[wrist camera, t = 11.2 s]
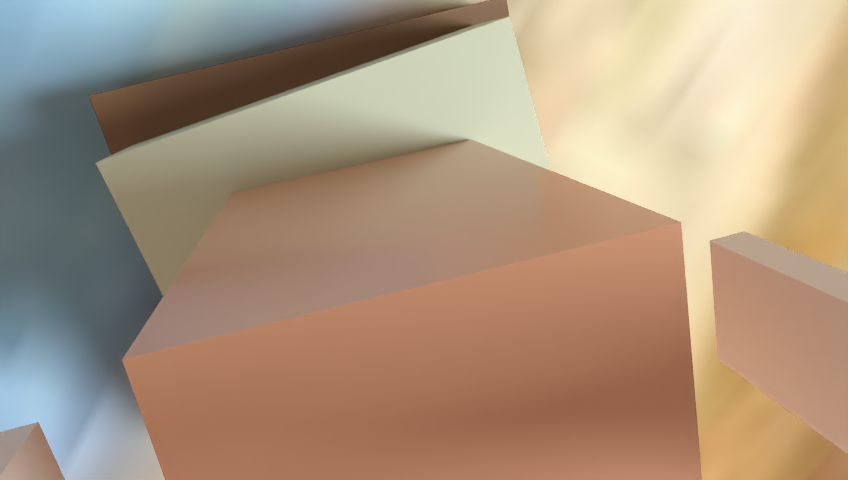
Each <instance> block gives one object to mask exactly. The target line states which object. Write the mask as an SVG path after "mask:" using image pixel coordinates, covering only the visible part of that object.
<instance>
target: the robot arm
mask: <svg viewBox="0 0 848 480" xmlns="http://www.w3.org/2000/svg"><path fill="white" fill-rule="evenodd" d="M710 250H711V265H712V280H713V295H714V310H715V325H716V340H717V355H718V360H719V361H720V362H721V363H723V364H724V365H726V366H727V367H728V368H730V369H731V370H732V371H734V372H735V373H737V374H738V375H739V376H741V377H742V378H743V379H745V380H746V381H748V382H749V383H750V384H752V385H753V386H754V387H756V388H757V389H759V390H760V391H761V392H763V393H764V394H766V395H767V396H768V397H770V398H771V399H772V400H774V401H775V402H777V403H778V404H779V405H781V406H782V407H783V408H785V409H786V410H788V411H789V412H790V413H792V414H793V415H794V416H796V417H797V418H799V419H800V420H801V421H803V422H804V423H806V424H807V425H808V426H810V427H811V428H812V429H814V430H815V431H817V432H818V433H819V434H821V435H822V436H823V437H825V438H826V439H828V440H829V441H830V442H832V443H833V444H834V445H836V446H837V447H839V448H840V449H841V450H843V451H844V452H846V453H847V454H848V272H846V271H843V270H841V269H838V268H836V267H833V266H831V265H828V264H826V263H823V262H820V261H818V260H815V259H813V258H810V257H808V256H805V255H803V254H800V253H798V252H795V251H792V250H790V249H787V248H785V247H782V246H780V245H777V244H775V243H772V242H770V241H767V240H764V239H762V238H759V237H757V236H754V235H752V234H749V233H747V232H741V233H737V234H733V235H729V236H726V237H722V238H718V239H715V240H711V241H710ZM0 480H65V479H64V477H63V475H62V473H61V470H60V468H59V466H58V464H57V462H56V460H55V457H54V455H53V453H52V451H51V449H50V446H49V444H48V442H47V440H46V438H45V436H44V433H43V431H42V429H41V427H40V425H39V422H37V423H33V424H29V425H26V426H22V427H18V428H15V429H11V430H7V431H3V432H0Z"/></svg>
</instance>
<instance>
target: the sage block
mask: <svg viewBox="0 0 848 480" xmlns="http://www.w3.org/2000/svg"><path fill="white" fill-rule="evenodd" d="M471 139H472V140H474V141H477V142H479V143H482V144H484V145H487V146H489V147H492V148H495V149H497V150H500V151H502V152H505V153H507V154H510V155H512V156H515V157H517V158H520V159H522V160H525V161H527V162H530V163H532V164H535V165H537V166H540V167H542V168H545V169H548V170H550V171H551V168H550V164H549V160H548V157H547V153H546V149H545V146H544V142H543V138H542V135H541V131H540V127H539V123H538V120H537V116H536V112H535V109H534V105H533V101H532V98H531V94H530V90H529V87H528V83H527V79H526V76H525V72H524V68H523V64H522V61H521V57H520V53H519V50H518V46H517V42H516V39H515V35H514V31H513V28H512V24H511V20H510V17H505V18H501V19H497V20H492V21H488V22H484V23H479V24H475V25H472V26H469V27H466V28H463V29H460V30H457V31H455V32H452V33H449V34H446V35H443V36H440V37H438V38H435V39H432V40H429V41H426V42H423V43H421V44H418V45H415V46H412V47H409V48H406V49H404V50H401V51H398V52H395V53H392V54H389V55H387V56H384V57H381V58H378V59H375V60H372V61H370V62H367V63H364V64H361V65H358V66H355V67H353V68H350V69H347V70H344V71H341V72H338V73H336V74H333V75H330V76H327V77H324V78H321V79H319V80H316V81H313V82H310V83H307V84H304V85H302V86H299V87H296V88H293V89H290V90H287V91H285V92H282V93H279V94H276V95H273V96H270V97H268V98H265V99H262V100H259V101H256V102H253V103H251V104H248V105H245V106H242V107H239V108H236V109H234V110H231V111H228V112H225V113H222V114H219V115H217V116H214V117H211V118H208V119H205V120H202V121H200V122H197V123H194V124H191V125H188V126H185V127H183V128H180V129H177V130H174V131H171V132H168V133H166V134H163V135H160V136H157V137H154V138H151V139H149V140H146V141H143V142H140V143H137V144H134V145H132V146H130V147H128V148H126V149H124V150H121V151H119V152H117V153H115V154H113V155H111V156H109V157H107V158H105V159H103V160H100V161H98V162H96V165H97V167H98V169H99V171H100V173H101V175H102V177H103V179H104V181H105V183H106V185H107V187H108V189H109V191H110V193H111V195H112V197H113V199H114V200H115V202H116V204H117V206H118V208H119V210H120V212H121V214H122V216H123V218H124V220H125V222H126V224H127V226H128V228H129V230H130V232H131V234H132V236H133V238H134V240H135V242H136V244H137V246H138V248H139V250H140V252H141V254H142V256H143V258H144V260H145V262H146V264H147V266H148V268H149V270H150V272H151V274H152V275H153V277H154V279H155V281H156V283H157V285H158V287H159V289H160V291H161V293H162V295H163V296H164V295H165V293H166V292H167V290H168V289H169V287H170V286H171V284H172V283H173V281H174V280H175V278H176V277H177V275H178V274H179V272H180V271H181V269H182V267H183V266H184V264H185V263H186V261H187V260H188V258H189V257H190V255H191V254H192V252H193V251H194V249H195V248H196V246H197V245H198V243H199V242H200V240H201V239H202V237H203V236H204V234H205V233H206V231H207V230H208V228H209V227H210V225H211V223H212V222H213V220H214V219H215V217H216V216H217V214H218V213H219V211H220V210H221V208H222V207H223V205H224V204H225V202H226V201H227V199H228V198H229V196H230V195H231V193H232V192H235V191H239V190H244V189H248V188H253V187H257V186H262V185H266V184H271V183H275V182H280V181H285V180H289V179H294V178H298V177H303V176H307V175H312V174H316V173H321V172H325V171H330V170H334V169H339V168H344V167H348V166H353V165H357V164H362V163H366V162H371V161H375V160H380V159H384V158H389V157H394V156H398V155H403V154H407V153H412V152H416V151H421V150H425V149H430V148H434V147H439V146H444V145H448V144H453V143H457V142H462V141H466V140H471Z"/></svg>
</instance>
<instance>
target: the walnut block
mask: <svg viewBox="0 0 848 480" xmlns="http://www.w3.org/2000/svg"><path fill="white" fill-rule="evenodd" d="M505 17H509V12H508V6H507V1H506V0H489V1H484V2H480V3H476V4H472V5H468V6H463V7H459V8H455V9H451V10H447V11H442V12H438V13H434V14H430V15H426V16H421V17H417V18H413V19H409V20H404V21H400V22H396V23H392V24H388V25H383V26H379V27H375V28H371V29H367V30H362V31H358V32H354V33H350V34H346V35H341V36H337V37H333V38H329V39H324V40H320V41H316V42H312V43H308V44H303V45H299V46H295V47H291V48H287V49H282V50H278V51H274V52H270V53H266V54H261V55H257V56H253V57H249V58H244V59H240V60H236V61H232V62H228V63H223V64H219V65H215V66H211V67H207V68H202V69H198V70H194V71H190V72H186V73H181V74H177V75H173V76H169V77H165V78H160V79H156V80H152V81H148V82H143V83H139V84H135V85H131V86H127V87H122V88H118V89H114V90H110V91H106V92H101V93H97V94H93V95H89V97H90V100H91V102H92V105H93V107H94V110H95V113H96V115H97V118H98V120H99V123H100V126H101V128H102V131H103V134H104V136H105V139H106V141H107V144H108V147H109V149H110V152H111V154H112V155H113V154H115V153H117V152H119V151H121V150H124V149H126V148H128V147H130V146H132V145H134V144H137V143H140V142H143V141H146V140H149V139H151V138H154V137H157V136H160V135H163V134H166V133H168V132H171V131H174V130H177V129H180V128H183V127H185V126H188V125H191V124H194V123H197V122H200V121H202V120H205V119H208V118H211V117H214V116H217V115H219V114H222V113H225V112H228V111H231V110H234V109H236V108H239V107H242V106H245V105H248V104H251V103H253V102H256V101H259V100H262V99H265V98H268V97H270V96H273V95H276V94H279V93H282V92H285V91H287V90H290V89H293V88H296V87H299V86H302V85H304V84H307V83H310V82H313V81H316V80H319V79H321V78H324V77H327V76H330V75H333V74H336V73H338V72H341V71H344V70H347V69H350V68H353V67H355V66H358V65H361V64H364V63H367V62H370V61H372V60H375V59H378V58H381V57H384V56H387V55H389V54H392V53H395V52H398V51H401V50H404V49H406V48H409V47H412V46H415V45H418V44H421V43H423V42H426V41H429V40H432V39H435V38H438V37H440V36H443V35H446V34H449V33H452V32H455V31H457V30H460V29H463V28H466V27H469V26H472V25H475V24H479V23H484V22H488V21H492V20H497V19H501V18H505Z"/></svg>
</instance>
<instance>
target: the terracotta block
mask: <svg viewBox="0 0 848 480" xmlns="http://www.w3.org/2000/svg"><path fill="white" fill-rule="evenodd" d="M122 362H123V364H124V367H125V370H126V373H127V375H128V378H129V381H130V384H131V386H132V389H133V392H134V395H135V397H136V400H137V403H138V406H139V408H140V411H141V414H142V417H143V419H144V422H145V425H146V428H147V430H148V433H149V436H150V439H151V442H152V444H153V447H154V450H155V453H156V455H157V458H158V461H159V464H160V466H161V469H162V472H163V475H164V477H165V480H702V476H701V463H700V451H699V439H698V426H697V414H696V402H695V389H694V377H693V365H692V353H691V340H690V328H689V316H688V303H687V291H686V279H685V266H684V254H683V242H682V229H681V222H679V221H676V220H674V219H671V218H669V217H666V216H664V215H661V214H659V213H656V212H654V211H651V210H648V209H646V208H643V207H641V206H638V205H636V204H633V203H631V202H628V201H626V200H623V199H621V198H618V197H616V196H613V195H611V194H608V193H606V192H603V191H601V190H598V189H595V188H593V187H590V186H588V185H585V184H583V183H580V182H578V181H575V180H573V179H570V178H568V177H565V176H563V175H560V174H558V173H555V172H553V171H550V170H548V169H545V168H542V167H540V166H537V165H535V164H532V163H530V162H527V161H525V160H522V159H520V158H517V157H515V156H512V155H510V154H507V153H505V152H502V151H500V150H497V149H495V148H492V147H489V146H487V145H484V144H482V143H479V142H477V141H474V140H472V139H471V140H466V141H462V142H457V143H453V144H448V145H444V146H439V147H434V148H430V149H425V150H421V151H416V152H412V153H407V154H403V155H398V156H394V157H389V158H384V159H380V160H375V161H371V162H366V163H362V164H357V165H353V166H348V167H344V168H339V169H334V170H330V171H325V172H321V173H316V174H312V175H307V176H303V177H298V178H294V179H289V180H285V181H280V182H275V183H271V184H266V185H262V186H257V187H253V188H248V189H244V190H239V191H235V192H232V193H231V195H230V196H229V198H228V199H227V201H226V202H225V204H224V205H223V207H222V208H221V210H220V211H219V213H218V214H217V216H216V217H215V219H214V220H213V222H212V223H211V225H210V227H209V228H208V230H207V231H206V233H205V234H204V236H203V237H202V239H201V240H200V242H199V243H198V245H197V246H196V248H195V249H194V251H193V252H192V254H191V255H190V257H189V258H188V260H187V261H186V263H185V264H184V266H183V267H182V269H181V271H180V272H179V274H178V275H177V277H176V278H175V280H174V281H173V283H172V284H171V286H170V287H169V289H168V290H167V292H166V293H165V295H164V296H163V298H162V299H161V301H160V302H159V304H158V305H157V307H156V308H155V310H154V312H153V313H152V315H151V316H150V318H149V319H148V321H147V322H146V324H145V325H144V327H143V328H142V330H141V331H140V333H139V334H138V336H137V337H136V339H135V340H134V342H133V343H132V345H131V346H130V348H129V349H128V351H127V352H126V354H125V356H124V357H123V359H122Z"/></svg>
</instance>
